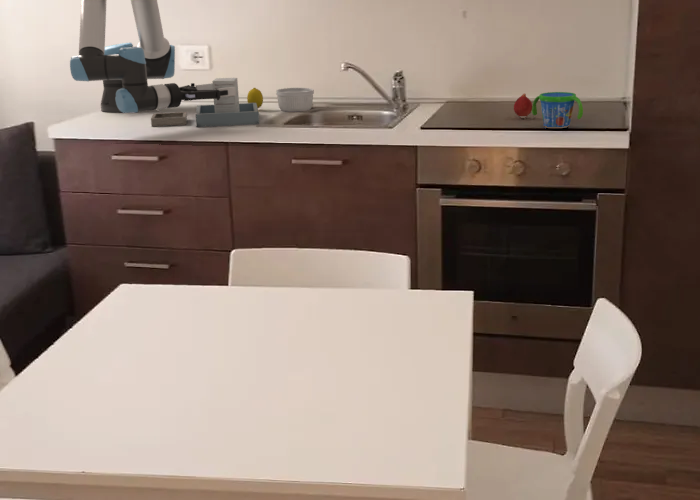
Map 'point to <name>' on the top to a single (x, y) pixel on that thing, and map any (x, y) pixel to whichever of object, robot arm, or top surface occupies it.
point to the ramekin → (295, 99)
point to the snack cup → (557, 108)
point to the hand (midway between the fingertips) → (224, 89)
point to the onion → (523, 106)
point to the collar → (169, 119)
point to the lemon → (255, 97)
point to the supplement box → (227, 102)
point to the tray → (227, 116)
